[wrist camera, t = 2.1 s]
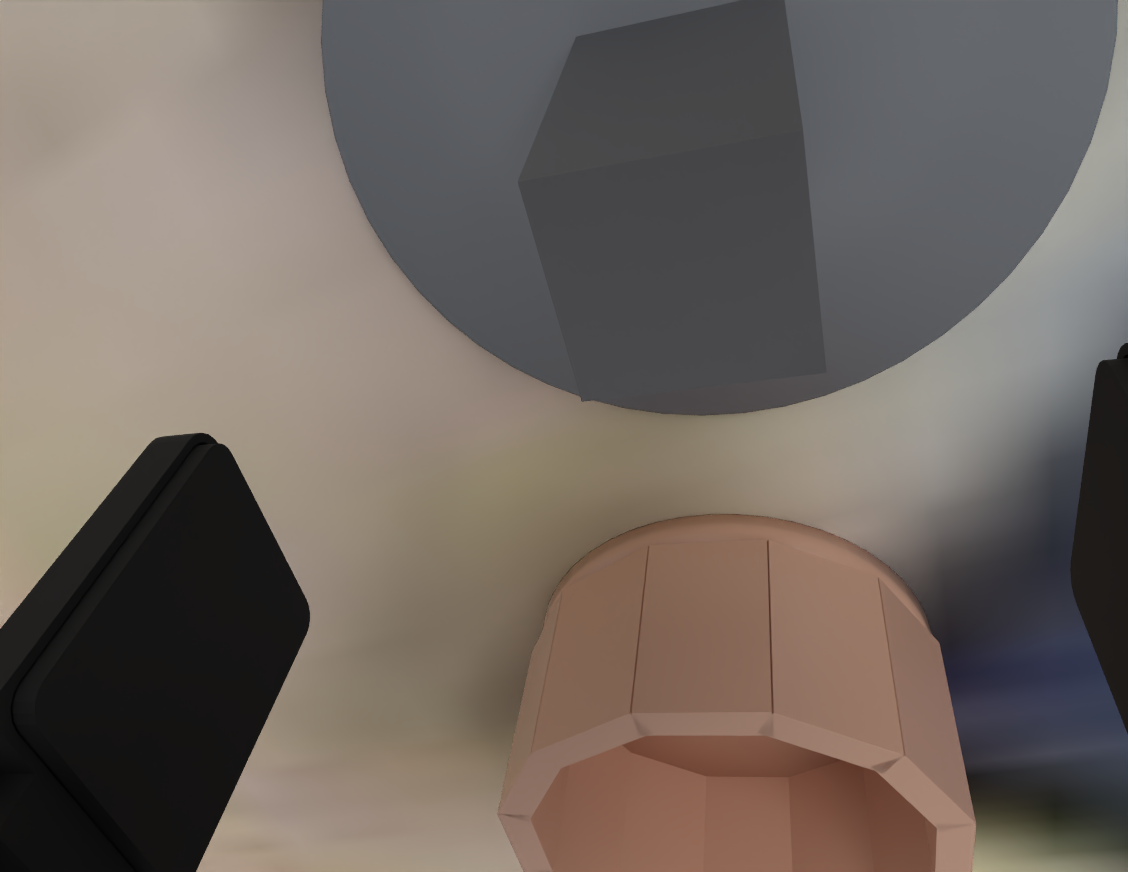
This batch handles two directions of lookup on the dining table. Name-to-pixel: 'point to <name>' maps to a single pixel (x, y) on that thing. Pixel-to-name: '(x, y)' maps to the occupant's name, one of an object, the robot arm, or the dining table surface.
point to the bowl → (736, 712)
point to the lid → (711, 176)
